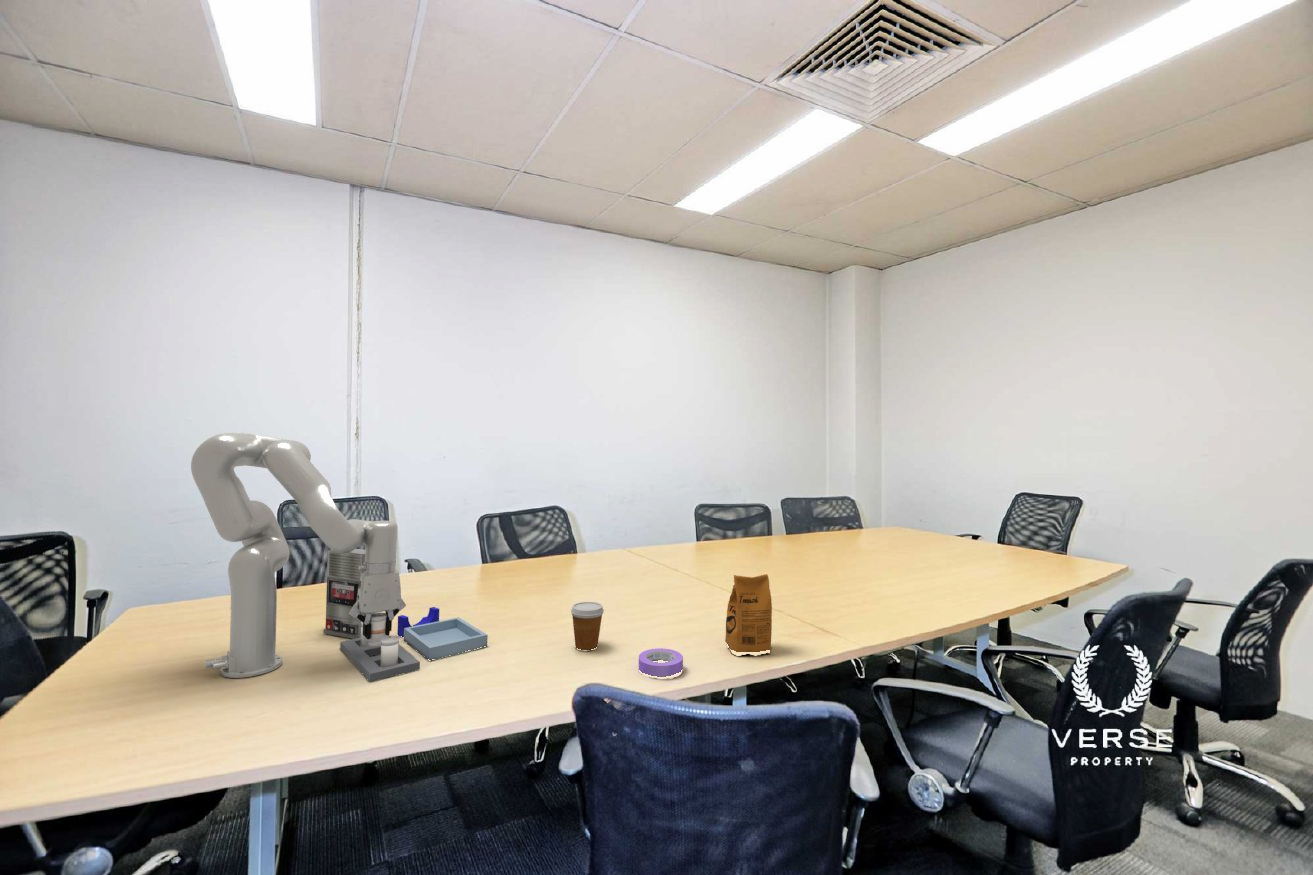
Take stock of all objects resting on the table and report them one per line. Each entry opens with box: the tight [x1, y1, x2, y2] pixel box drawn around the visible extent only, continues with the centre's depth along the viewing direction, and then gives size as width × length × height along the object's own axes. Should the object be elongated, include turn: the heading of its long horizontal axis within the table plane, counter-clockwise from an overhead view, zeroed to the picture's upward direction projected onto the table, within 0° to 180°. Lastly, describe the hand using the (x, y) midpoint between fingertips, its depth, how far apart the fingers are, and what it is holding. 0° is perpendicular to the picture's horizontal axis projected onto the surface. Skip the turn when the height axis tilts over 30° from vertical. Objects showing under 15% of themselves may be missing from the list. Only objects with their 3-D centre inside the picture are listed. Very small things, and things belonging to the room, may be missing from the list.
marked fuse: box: [368, 612, 387, 648], centre depth 150 cm, size 4×4×8 cm
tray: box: [403, 616, 489, 661], centre depth 162 cm, size 16×20×4 cm
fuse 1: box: [360, 621, 368, 647], centre depth 157 cm, size 4×4×8 cm
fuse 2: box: [380, 635, 400, 668], centre depth 143 cm, size 4×4×8 cm
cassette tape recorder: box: [322, 548, 373, 639], centre depth 168 cm, size 14×6×25 cm, turn 71°
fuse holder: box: [339, 635, 421, 683], centre depth 150 cm, size 12×28×2 cm, turn 43°
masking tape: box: [638, 647, 684, 677], centre depth 147 cm, size 12×12×4 cm
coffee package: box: [724, 573, 773, 652], centre depth 163 cm, size 10×12×22 cm
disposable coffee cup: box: [570, 601, 605, 650], centre depth 162 cm, size 10×10×12 cm
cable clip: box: [396, 606, 440, 638], centre depth 172 cm, size 12×4×6 cm, turn 145°
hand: (377, 635), depth 150 cm, fingers closed on marked fuse, 4 cm apart
